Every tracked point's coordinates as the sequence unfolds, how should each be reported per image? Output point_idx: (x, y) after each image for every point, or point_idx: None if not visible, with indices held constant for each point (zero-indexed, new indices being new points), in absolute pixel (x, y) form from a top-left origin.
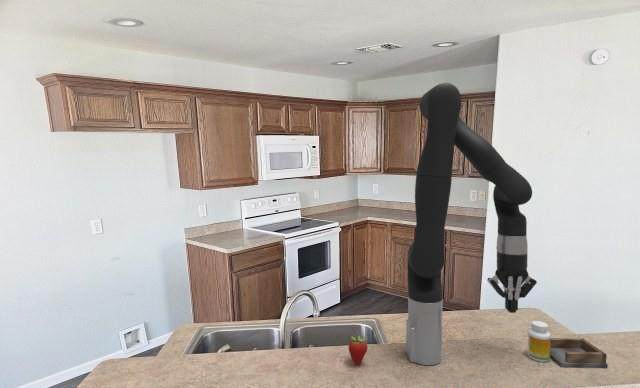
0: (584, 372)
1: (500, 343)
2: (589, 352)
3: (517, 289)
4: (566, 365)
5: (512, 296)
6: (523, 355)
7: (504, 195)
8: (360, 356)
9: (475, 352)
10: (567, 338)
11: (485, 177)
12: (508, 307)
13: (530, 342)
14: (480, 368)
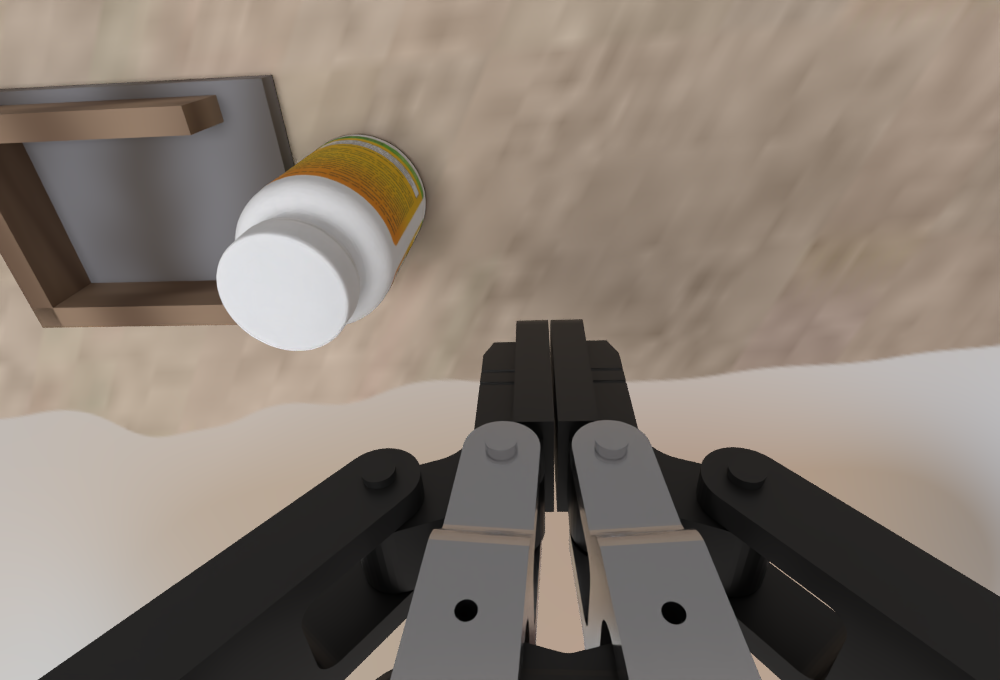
0: (142, 15)
1: None
2: (31, 137)
3: (499, 569)
4: (231, 79)
5: (579, 465)
6: (451, 213)
7: None
8: None
9: (742, 232)
10: (134, 324)
11: None
12: (607, 364)
13: (402, 218)
14: (842, 5)
